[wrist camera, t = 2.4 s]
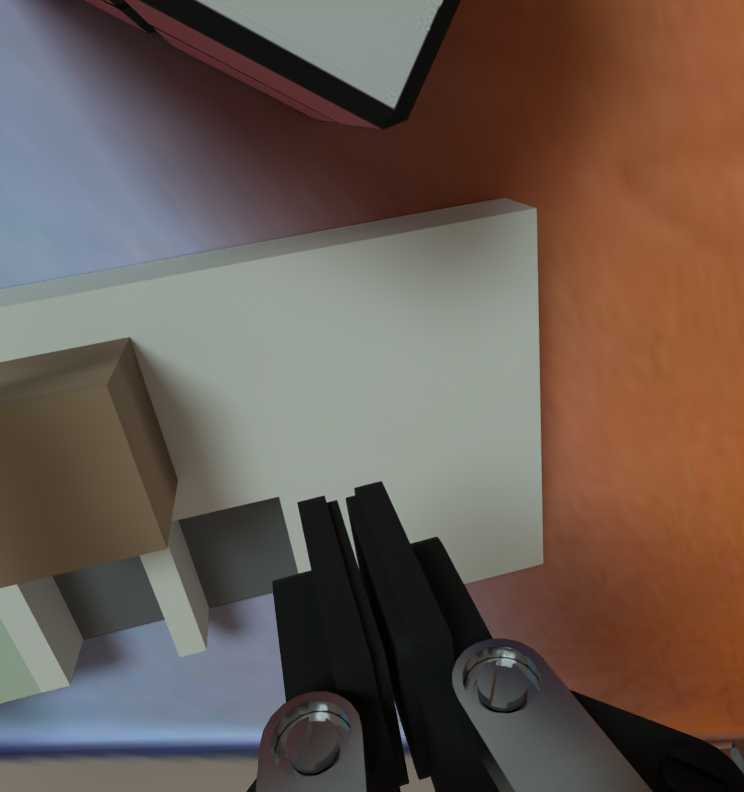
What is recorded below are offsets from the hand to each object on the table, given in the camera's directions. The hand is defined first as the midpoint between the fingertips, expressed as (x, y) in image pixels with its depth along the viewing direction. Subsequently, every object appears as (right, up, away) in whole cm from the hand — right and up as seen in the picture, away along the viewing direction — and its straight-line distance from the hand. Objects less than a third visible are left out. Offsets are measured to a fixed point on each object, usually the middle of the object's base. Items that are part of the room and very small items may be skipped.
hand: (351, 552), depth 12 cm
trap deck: (-6, +1, +10) cm, 12 cm away
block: (-9, +2, +7) cm, 11 cm away
